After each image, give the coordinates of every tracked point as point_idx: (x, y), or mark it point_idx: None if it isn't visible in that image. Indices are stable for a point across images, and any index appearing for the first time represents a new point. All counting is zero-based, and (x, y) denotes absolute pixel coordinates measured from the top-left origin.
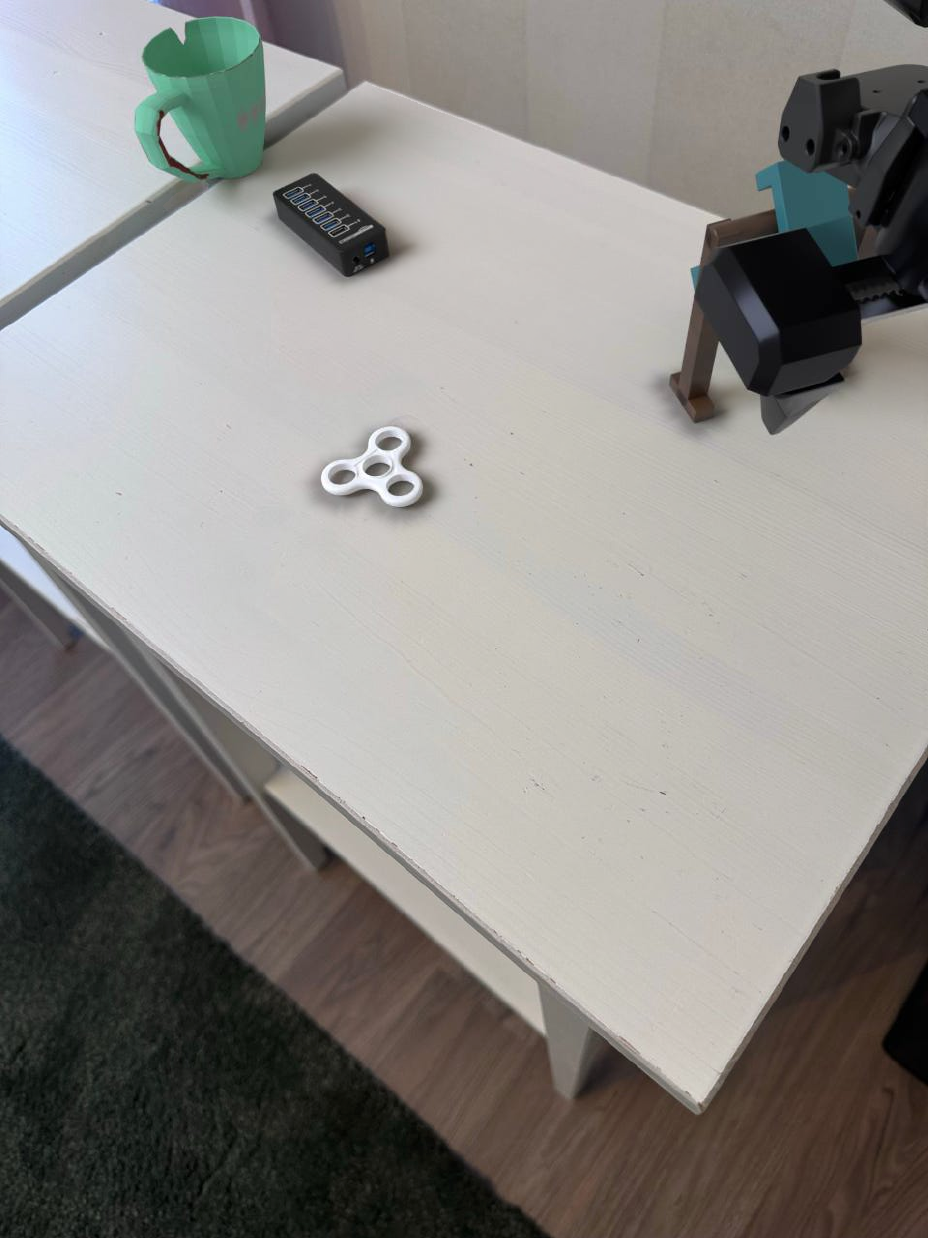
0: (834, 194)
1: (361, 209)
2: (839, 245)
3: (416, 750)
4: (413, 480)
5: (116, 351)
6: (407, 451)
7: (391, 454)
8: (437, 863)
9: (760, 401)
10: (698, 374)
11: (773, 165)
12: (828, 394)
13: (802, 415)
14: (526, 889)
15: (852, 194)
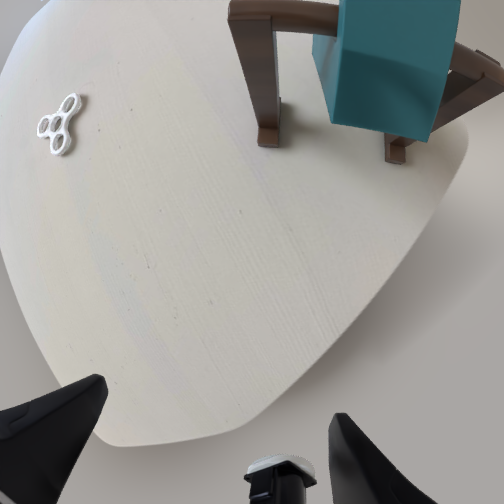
0: (433, 38)
1: None
2: (414, 103)
3: (36, 303)
4: (64, 139)
5: (35, 34)
6: (74, 113)
7: (64, 116)
8: (41, 349)
9: (72, 383)
10: (262, 117)
11: None
12: (57, 499)
13: (82, 448)
14: (64, 377)
15: (459, 53)
